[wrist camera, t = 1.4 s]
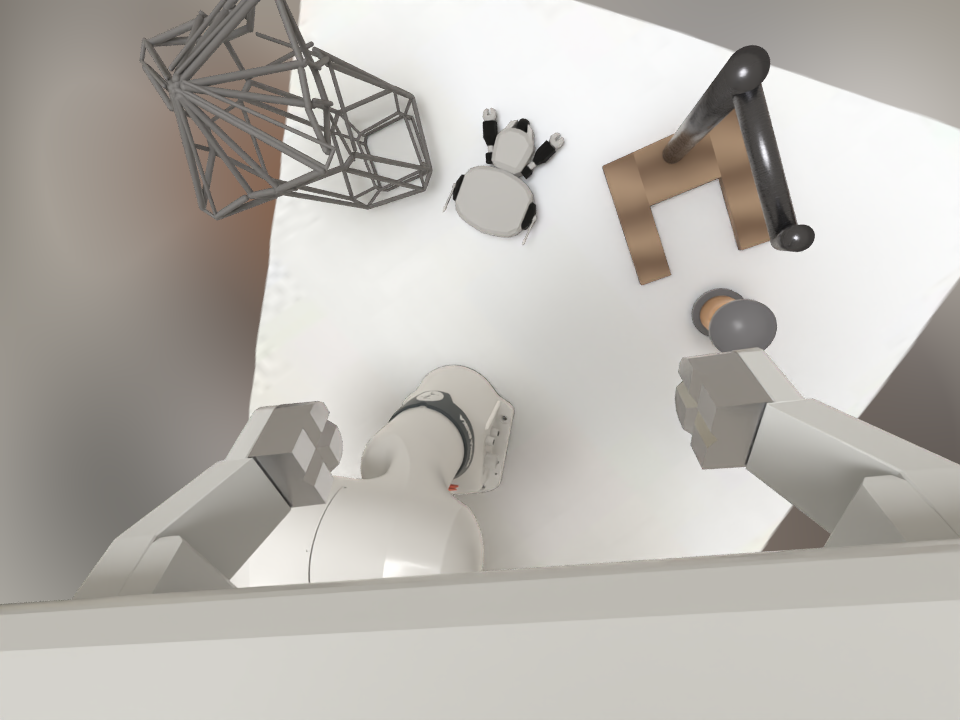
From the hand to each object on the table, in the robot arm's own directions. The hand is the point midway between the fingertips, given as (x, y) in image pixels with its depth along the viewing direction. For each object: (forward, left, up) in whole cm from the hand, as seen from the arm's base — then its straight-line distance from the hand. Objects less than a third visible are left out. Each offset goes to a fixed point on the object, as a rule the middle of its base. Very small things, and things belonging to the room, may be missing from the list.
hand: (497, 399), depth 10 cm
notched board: (+7, -12, -54) cm, 56 cm away
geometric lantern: (+15, +28, -54) cm, 63 cm away
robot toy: (+11, +11, -55) cm, 57 cm away
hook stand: (+8, -12, -53) cm, 55 cm away
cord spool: (-7, -17, -54) cm, 57 cm away
